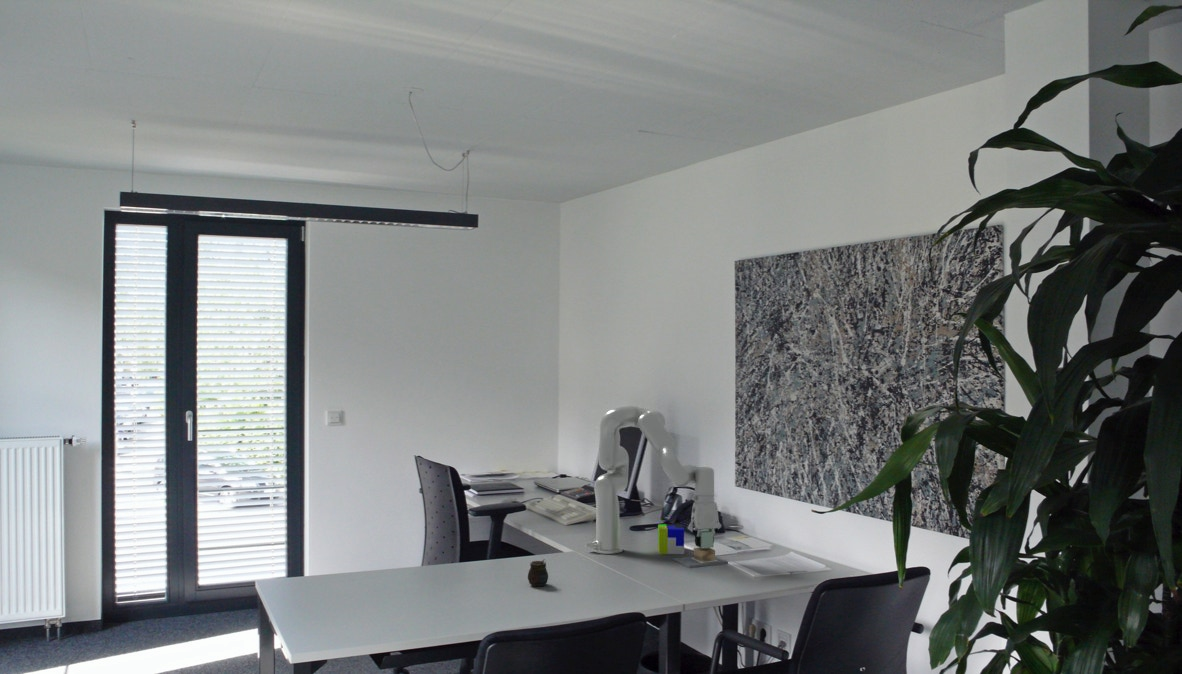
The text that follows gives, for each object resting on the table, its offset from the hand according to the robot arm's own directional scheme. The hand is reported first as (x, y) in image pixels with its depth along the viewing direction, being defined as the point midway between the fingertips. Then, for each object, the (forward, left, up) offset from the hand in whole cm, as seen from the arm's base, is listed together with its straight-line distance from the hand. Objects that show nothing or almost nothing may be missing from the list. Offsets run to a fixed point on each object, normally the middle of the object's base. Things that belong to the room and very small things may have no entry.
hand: (704, 545), depth 342 cm
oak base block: (0, 0, -5) cm, 5 cm away
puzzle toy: (-4, +21, -7) cm, 22 cm away
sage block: (0, 0, 0) cm, 0 cm away
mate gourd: (-71, -8, -7) cm, 72 cm away
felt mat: (-1, 0, -6) cm, 7 cm away
